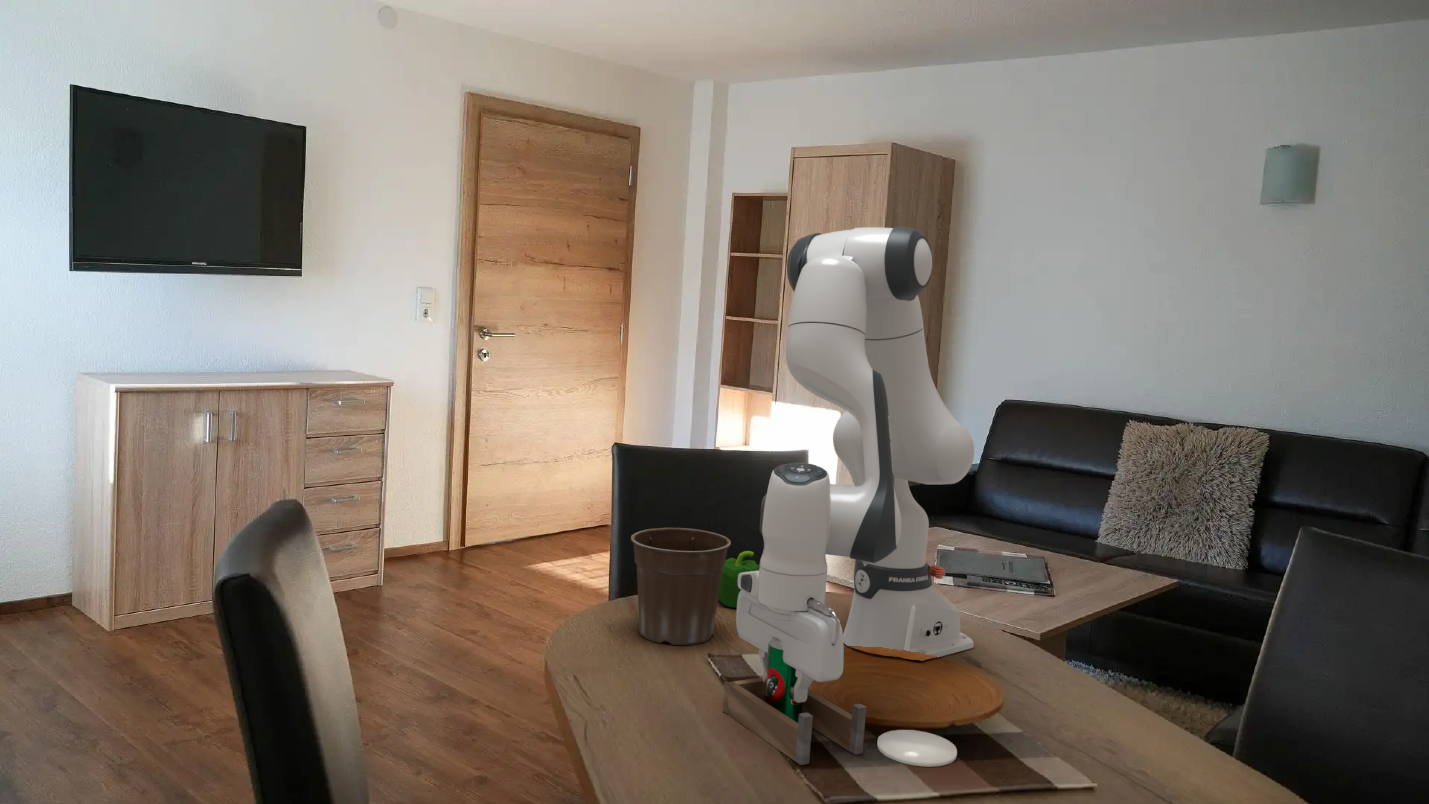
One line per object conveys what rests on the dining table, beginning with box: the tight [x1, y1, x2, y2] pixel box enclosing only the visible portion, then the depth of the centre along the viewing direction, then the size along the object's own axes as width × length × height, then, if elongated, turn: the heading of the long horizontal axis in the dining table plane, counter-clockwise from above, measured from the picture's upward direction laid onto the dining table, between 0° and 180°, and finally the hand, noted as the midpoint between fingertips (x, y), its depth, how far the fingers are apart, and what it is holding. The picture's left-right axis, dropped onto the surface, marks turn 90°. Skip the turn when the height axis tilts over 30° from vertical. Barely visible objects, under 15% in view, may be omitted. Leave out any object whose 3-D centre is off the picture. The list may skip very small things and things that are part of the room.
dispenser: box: [722, 676, 867, 766], centre depth 145 cm, size 9×18×6 cm, turn 30°
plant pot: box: [630, 527, 732, 646], centre depth 182 cm, size 16×16×16 cm
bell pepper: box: [718, 550, 760, 609], centre depth 202 cm, size 8×8×10 cm
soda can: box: [764, 637, 803, 723], centre depth 146 cm, size 5×5×12 cm
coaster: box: [876, 729, 958, 768], centre depth 142 cm, size 10×10×1 cm
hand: (784, 691), depth 146 cm, fingers closed on soda can, 5 cm apart
